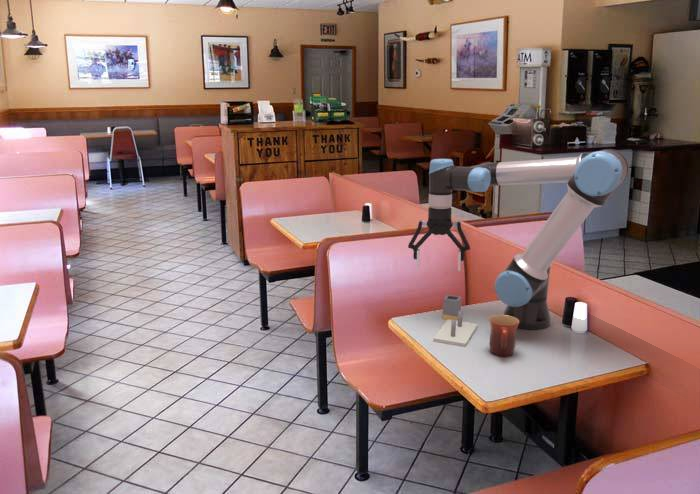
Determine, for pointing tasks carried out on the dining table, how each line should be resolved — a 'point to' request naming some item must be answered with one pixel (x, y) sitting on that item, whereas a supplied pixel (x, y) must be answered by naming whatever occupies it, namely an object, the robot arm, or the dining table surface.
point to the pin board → (456, 332)
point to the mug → (503, 334)
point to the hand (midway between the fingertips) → (438, 269)
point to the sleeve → (451, 307)
